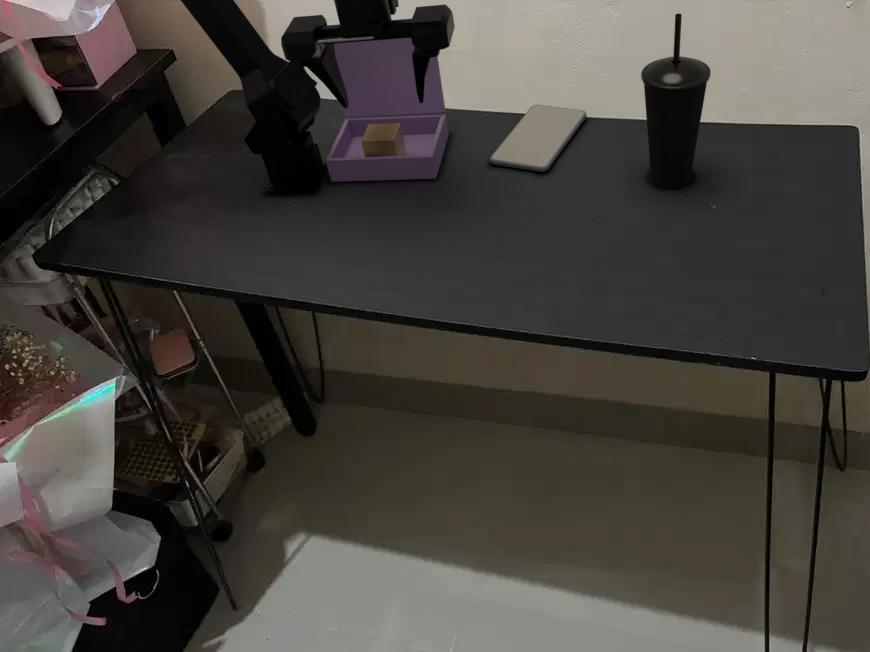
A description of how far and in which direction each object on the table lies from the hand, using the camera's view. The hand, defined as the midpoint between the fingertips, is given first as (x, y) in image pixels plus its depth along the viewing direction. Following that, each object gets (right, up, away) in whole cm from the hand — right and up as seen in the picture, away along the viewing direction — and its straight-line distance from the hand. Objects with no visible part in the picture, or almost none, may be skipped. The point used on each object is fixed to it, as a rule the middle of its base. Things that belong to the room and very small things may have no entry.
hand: (384, 104), depth 99 cm
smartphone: (+19, -1, +14) cm, 23 cm away
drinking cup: (+35, -8, +4) cm, 36 cm away
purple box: (-1, -3, +14) cm, 15 cm away
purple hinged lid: (-1, +8, +12) cm, 14 cm away
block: (-1, -4, +13) cm, 13 cm away
